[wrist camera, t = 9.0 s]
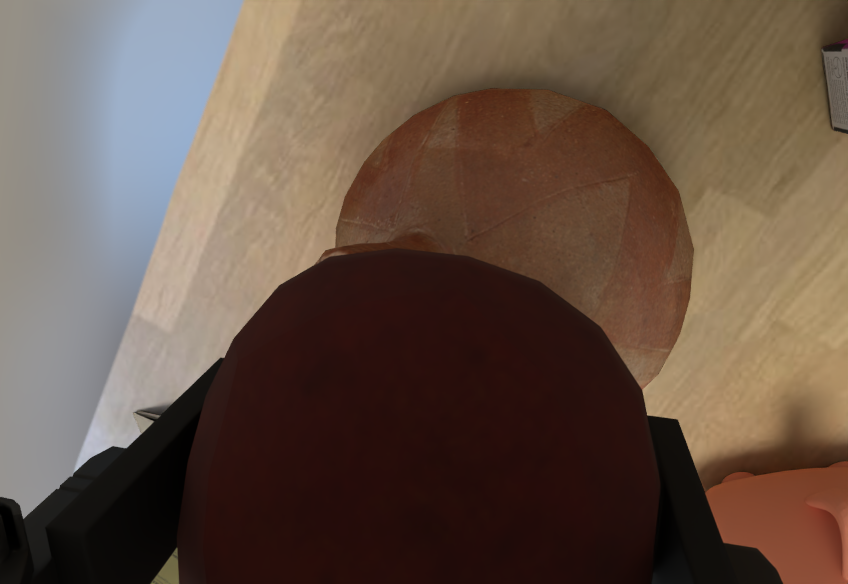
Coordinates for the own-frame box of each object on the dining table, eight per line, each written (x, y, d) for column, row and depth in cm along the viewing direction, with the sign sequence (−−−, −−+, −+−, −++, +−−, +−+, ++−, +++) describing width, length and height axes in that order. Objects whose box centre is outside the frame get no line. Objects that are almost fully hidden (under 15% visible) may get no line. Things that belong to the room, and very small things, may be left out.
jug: (731, 217, 37) (929, 386, 18) (528, 409, 44) (526, 671, 25) (491, 11, 35) (446, -27, 17) (318, 246, 42) (151, 403, 23)
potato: (423, 196, 19) (369, 84, 11) (714, 455, 17) (918, 562, 9) (170, 473, 19) (-76, 578, 11) (438, 753, 18) (392, 1121, 9)
